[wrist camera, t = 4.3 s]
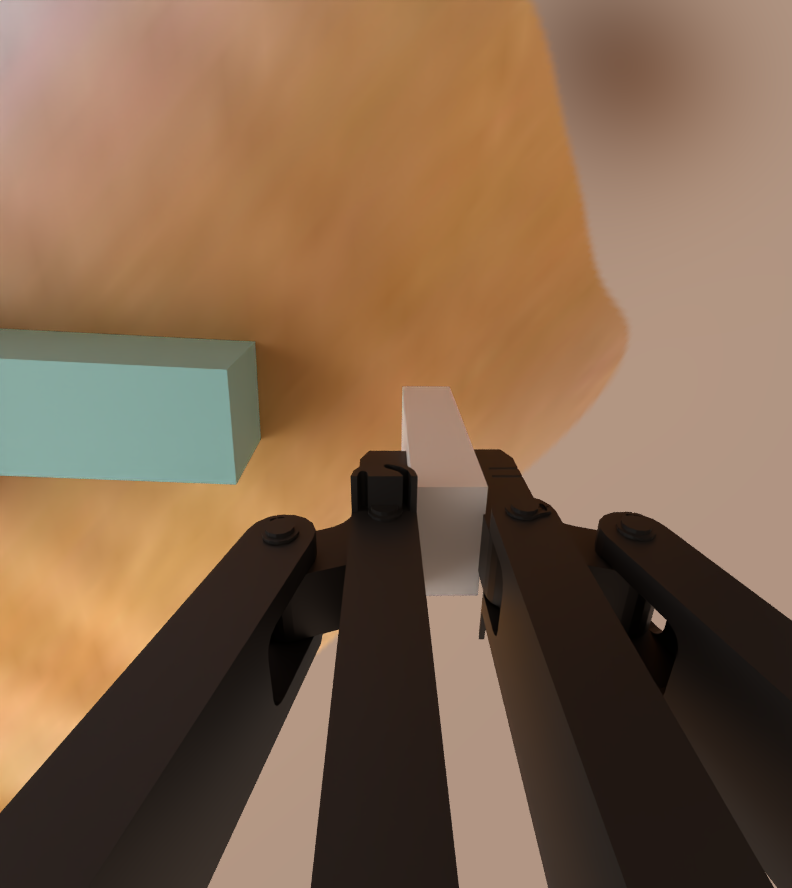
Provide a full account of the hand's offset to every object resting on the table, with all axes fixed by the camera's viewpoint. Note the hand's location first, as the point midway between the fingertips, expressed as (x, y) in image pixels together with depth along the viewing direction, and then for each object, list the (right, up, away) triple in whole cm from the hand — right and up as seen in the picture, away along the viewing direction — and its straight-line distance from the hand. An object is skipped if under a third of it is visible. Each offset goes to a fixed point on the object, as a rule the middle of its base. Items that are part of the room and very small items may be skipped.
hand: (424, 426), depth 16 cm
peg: (-11, +2, +3) cm, 12 cm away
